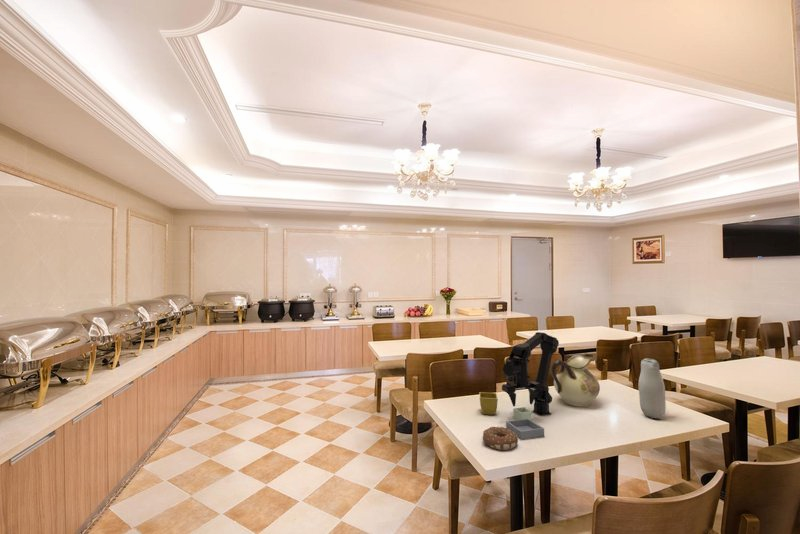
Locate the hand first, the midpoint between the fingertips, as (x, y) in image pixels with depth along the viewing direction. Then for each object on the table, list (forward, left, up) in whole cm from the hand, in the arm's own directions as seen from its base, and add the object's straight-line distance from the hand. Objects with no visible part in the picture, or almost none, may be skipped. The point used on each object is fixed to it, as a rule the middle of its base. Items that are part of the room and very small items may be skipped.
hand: (522, 405), depth 163 cm
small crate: (0, 0, -7) cm, 7 cm away
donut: (+23, +18, -8) cm, 30 cm away
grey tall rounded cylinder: (-63, +13, -7) cm, 65 cm away
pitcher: (-42, -13, -7) cm, 44 cm away
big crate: (+7, +12, -7) cm, 16 cm away
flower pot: (+11, -13, -7) cm, 19 cm away
